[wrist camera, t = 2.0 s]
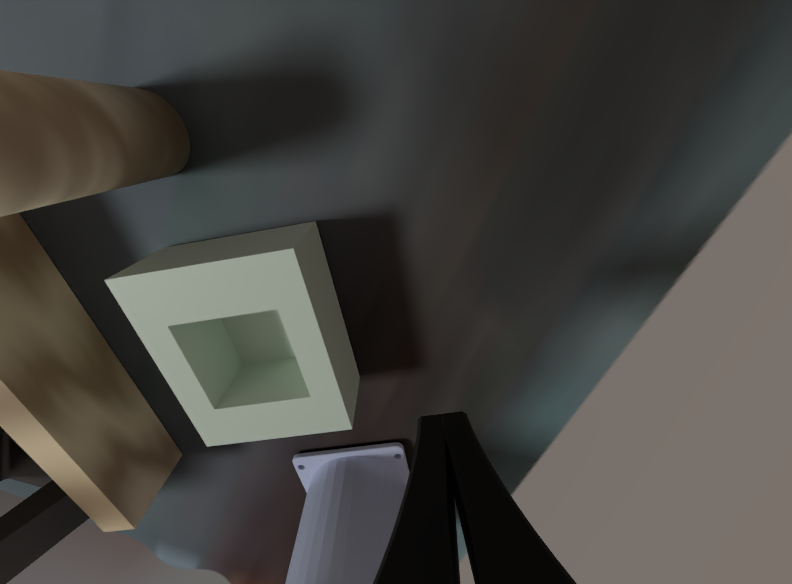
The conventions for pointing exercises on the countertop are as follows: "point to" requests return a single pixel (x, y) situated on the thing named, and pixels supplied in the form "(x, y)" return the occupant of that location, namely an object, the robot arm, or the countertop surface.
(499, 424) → the countertop surface
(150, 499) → the oak wall
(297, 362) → the socket block
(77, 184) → the dowel
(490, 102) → the countertop surface
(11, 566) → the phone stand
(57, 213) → the countertop surface
